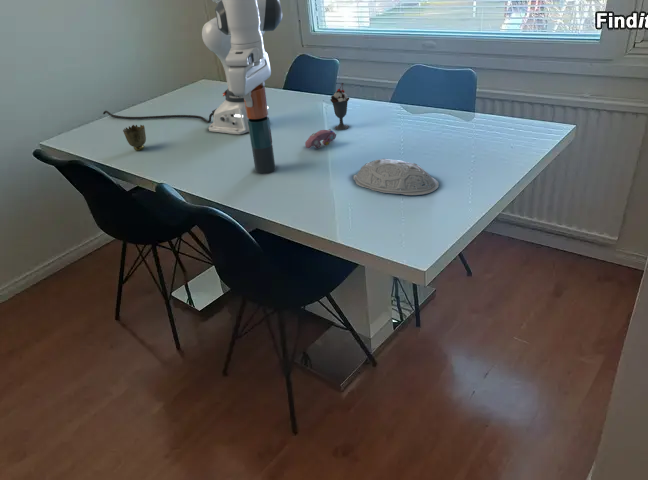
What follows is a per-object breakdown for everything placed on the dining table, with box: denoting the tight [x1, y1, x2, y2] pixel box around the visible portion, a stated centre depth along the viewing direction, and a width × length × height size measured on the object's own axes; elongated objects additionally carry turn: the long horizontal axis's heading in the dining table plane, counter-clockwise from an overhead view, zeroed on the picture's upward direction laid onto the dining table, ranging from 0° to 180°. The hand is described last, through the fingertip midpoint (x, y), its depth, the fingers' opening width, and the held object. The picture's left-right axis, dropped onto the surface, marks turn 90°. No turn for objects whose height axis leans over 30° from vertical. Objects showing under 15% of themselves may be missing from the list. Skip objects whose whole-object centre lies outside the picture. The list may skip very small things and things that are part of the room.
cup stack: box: [247, 115, 277, 175], centre depth 165 cm, size 6×6×16 cm
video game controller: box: [304, 128, 337, 149], centre depth 179 cm, size 10×5×7 cm, turn 118°
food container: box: [352, 158, 440, 196], centre depth 152 cm, size 16×25×7 cm, turn 52°
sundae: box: [329, 82, 350, 131], centre depth 190 cm, size 7×7×15 cm
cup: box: [244, 85, 269, 119], centre depth 158 cm, size 6×6×8 cm
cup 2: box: [122, 124, 147, 152], centre depth 194 cm, size 8×7×8 cm
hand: (255, 102), depth 158 cm, fingers closed on cup, 6 cm apart
